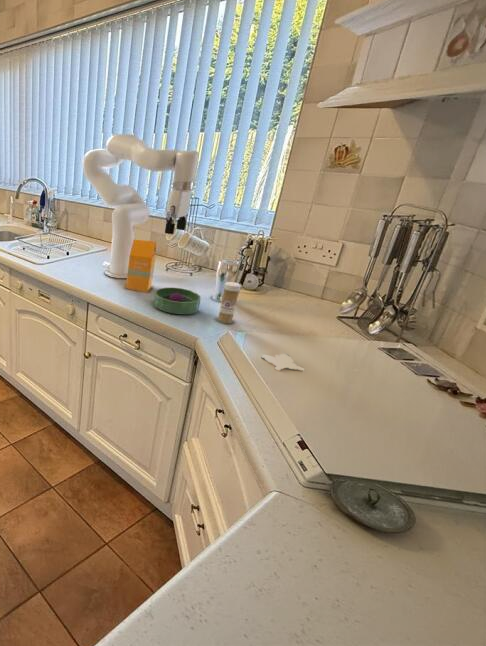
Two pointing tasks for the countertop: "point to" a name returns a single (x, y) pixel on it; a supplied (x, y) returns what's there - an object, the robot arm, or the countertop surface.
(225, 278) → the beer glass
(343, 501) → the lid
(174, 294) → the ball
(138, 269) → the orange juice
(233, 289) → the sprinkles bottle
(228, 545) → the countertop surface
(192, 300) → the bowl
